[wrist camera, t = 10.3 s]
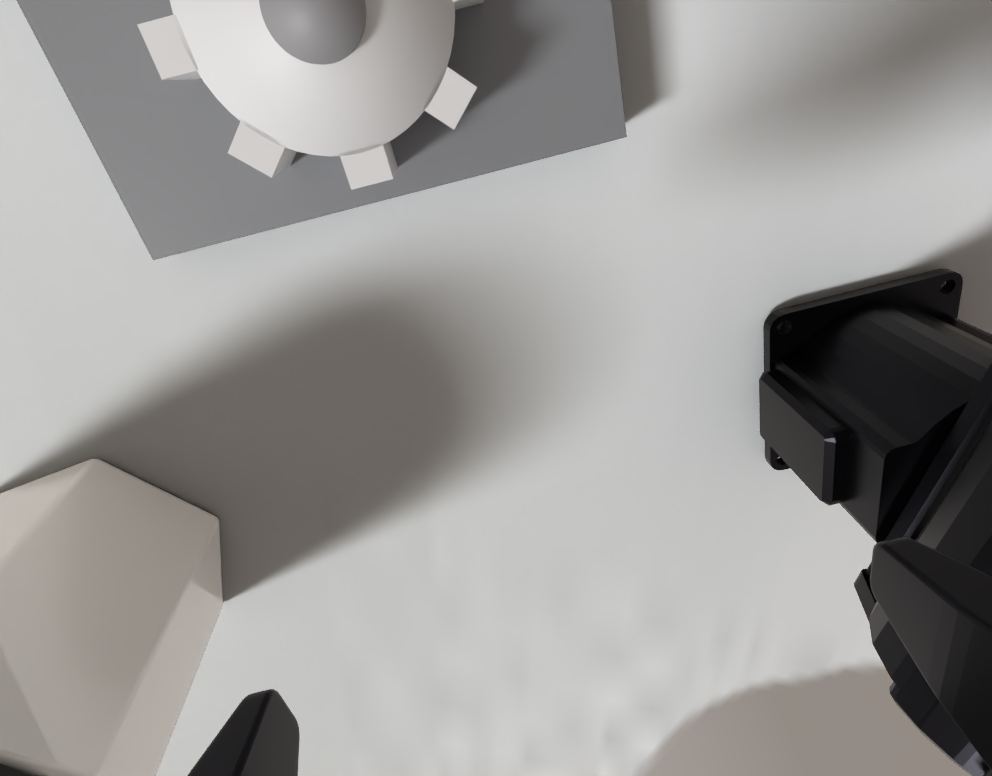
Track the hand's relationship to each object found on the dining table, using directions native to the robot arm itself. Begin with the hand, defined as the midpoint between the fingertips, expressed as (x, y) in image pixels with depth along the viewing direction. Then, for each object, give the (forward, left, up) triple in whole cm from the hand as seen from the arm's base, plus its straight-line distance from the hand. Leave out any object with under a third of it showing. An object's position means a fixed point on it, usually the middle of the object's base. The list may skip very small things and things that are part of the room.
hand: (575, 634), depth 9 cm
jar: (+16, +5, -12) cm, 21 cm away
